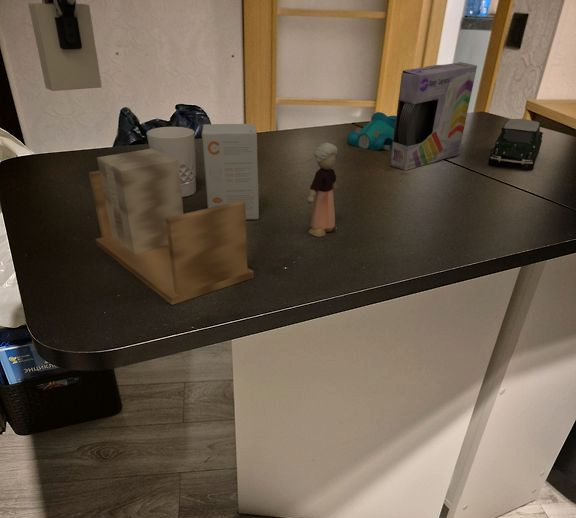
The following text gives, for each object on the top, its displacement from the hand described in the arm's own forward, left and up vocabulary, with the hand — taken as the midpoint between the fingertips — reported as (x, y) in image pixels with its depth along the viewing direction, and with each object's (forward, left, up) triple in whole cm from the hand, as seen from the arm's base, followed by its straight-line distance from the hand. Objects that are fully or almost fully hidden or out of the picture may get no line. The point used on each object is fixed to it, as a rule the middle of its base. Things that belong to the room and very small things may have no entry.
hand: (66, 46), depth 83 cm
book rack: (-4, -34, -22) cm, 41 cm away
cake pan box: (+63, -22, -22) cm, 71 cm away
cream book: (0, 0, -6) cm, 6 cm away
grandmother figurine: (+20, -38, -22) cm, 49 cm away
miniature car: (+81, -33, -22) cm, 90 cm away
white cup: (+11, -9, -22) cm, 27 cm away
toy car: (+69, -5, -22) cm, 73 cm away
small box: (+13, -24, -22) cm, 35 cm away
